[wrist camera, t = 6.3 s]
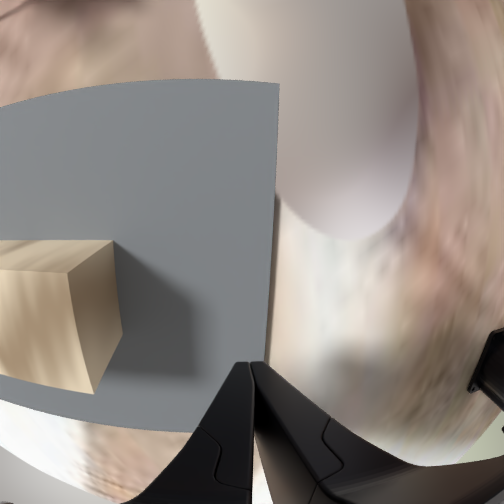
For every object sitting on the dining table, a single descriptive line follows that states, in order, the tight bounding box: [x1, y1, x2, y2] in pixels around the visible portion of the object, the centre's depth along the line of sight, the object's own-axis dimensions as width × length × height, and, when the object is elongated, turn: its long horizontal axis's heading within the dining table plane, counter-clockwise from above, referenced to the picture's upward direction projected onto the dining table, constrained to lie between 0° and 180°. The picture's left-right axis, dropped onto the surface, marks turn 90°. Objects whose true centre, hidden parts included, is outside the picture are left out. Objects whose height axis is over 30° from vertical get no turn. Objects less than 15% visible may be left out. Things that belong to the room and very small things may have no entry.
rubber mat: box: [0, 79, 279, 433], centre depth 13 cm, size 20×22×1 cm
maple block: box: [0, 240, 123, 394], centre depth 11 cm, size 5×5×10 cm
